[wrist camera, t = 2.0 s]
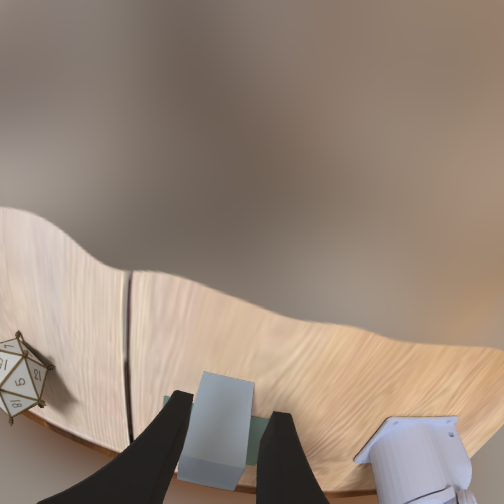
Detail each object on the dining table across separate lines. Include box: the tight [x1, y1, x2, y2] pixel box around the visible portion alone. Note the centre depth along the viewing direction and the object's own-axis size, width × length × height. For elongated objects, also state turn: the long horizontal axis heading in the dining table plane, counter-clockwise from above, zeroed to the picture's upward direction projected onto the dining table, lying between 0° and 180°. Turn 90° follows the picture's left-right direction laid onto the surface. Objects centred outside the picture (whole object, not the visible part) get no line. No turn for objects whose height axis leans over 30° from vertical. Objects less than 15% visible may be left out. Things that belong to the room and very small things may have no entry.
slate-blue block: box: [177, 371, 254, 491], centre depth 20 cm, size 4×4×8 cm
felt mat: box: [163, 396, 270, 466], centre depth 26 cm, size 10×9×1 cm
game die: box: [0, 330, 55, 425], centre depth 21 cm, size 9×8×10 cm
